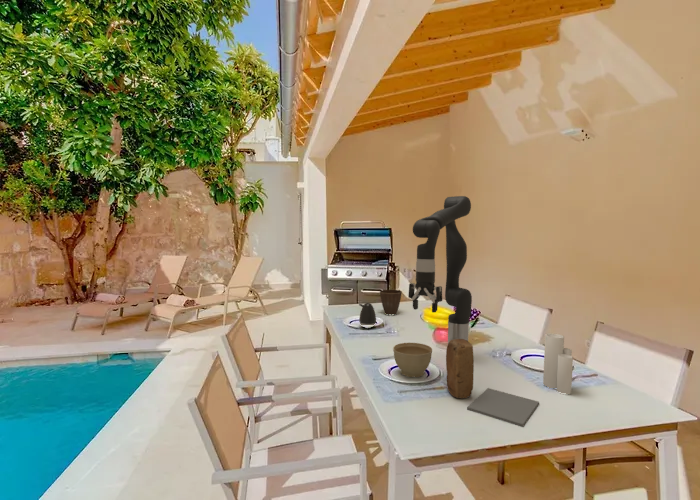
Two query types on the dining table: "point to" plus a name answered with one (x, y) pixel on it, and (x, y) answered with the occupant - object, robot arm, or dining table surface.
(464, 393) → the block
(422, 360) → the planter bowl
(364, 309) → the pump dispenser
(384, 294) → the plant pot
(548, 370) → the vase
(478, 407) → the flat gray panel
